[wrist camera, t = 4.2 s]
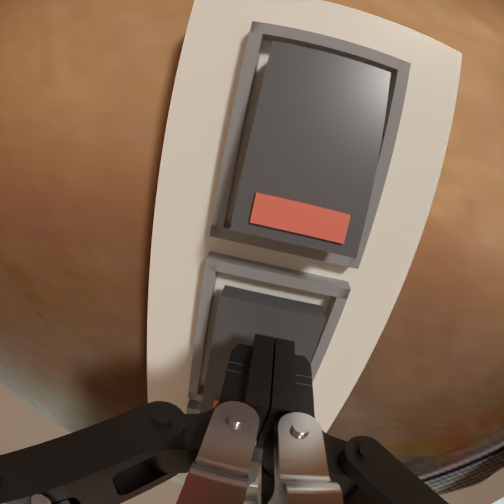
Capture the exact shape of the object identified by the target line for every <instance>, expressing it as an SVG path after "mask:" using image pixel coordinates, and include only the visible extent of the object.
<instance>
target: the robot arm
mask: <svg viewBox="0 0 504 504" xmlns="http://www.w3.org/2000/svg"><path fill="white" fill-rule="evenodd" d="M312 385H313V384H312V370H311V365H310V363H309V362H308V360H307V358H306V357H305V356H301V355H295V342H294V341H291V340H286V339H281V338H275V339H274V337H271V336H266V335H261V334H256V333H255V336H254V340H253V344H252V346H249V345H245V344H240V343H239V344H238V345H237V346H236V347H235V348H234V349H233V350H232V351H231V354H230V358H229V362H228V366H227V371H226V374H225V379H224V383H223V387H222V391H221V395H220V399H219V402H218V403H217V405H216V406H215V407H214V408H213V409H211V410H209V411H207V412H204V413H199V414H184V413H183V411H182V410H181V409H180V408H179V407H177V406H176V405H174V404H172V403H169V402H165V401H154V402H150V403H147V404H145V405H143V406H140V407H138V408H136V409H133V410H131V411H128V412H126V413H123V414H121V415H118V416H116V417H113V418H111V419H108V420H106V421H103V422H101V423H98V424H95V425H93V426H90V427H87V428H84V429H82V430H79V431H76V432H73V433H71V434H68V435H65V436H62V437H59V438H56V439H53V440H50V441H47V442H44V443H41V444H38V445H34V446H31V447H28V448H24V449H21V450H18V451H14V452H10V453H7V454H3V455H0V504H120V503H122V502H124V501H127V500H129V499H131V498H133V497H135V496H137V495H139V494H141V493H143V492H145V491H147V490H149V489H151V488H153V487H155V486H157V485H159V484H161V483H163V482H165V481H167V480H168V479H170V478H172V477H174V476H176V475H177V474H178V473H188V475H187V477H186V480H185V483H184V485H183V488H182V490H181V493H180V495H179V498H178V501H177V503H176V504H243V503H244V499H245V495H246V491H247V486H248V481H249V477H248V472H249V468H250V464H251V459H252V455H253V450H254V446H255V442H256V447H255V448H260V449H263V454H262V459H261V461H260V463H259V467H258V504H448V503H447V502H446V501H445V500H444V499H442V498H441V497H440V496H439V495H438V494H437V493H435V492H434V491H433V490H432V489H431V488H430V487H428V486H427V485H426V484H425V483H424V482H423V481H421V480H420V479H419V478H418V477H417V476H416V475H415V474H413V473H412V472H411V471H410V470H409V469H408V468H407V467H405V466H404V465H403V464H402V463H401V462H400V461H399V460H398V459H396V458H395V457H394V456H393V455H392V454H391V453H390V452H389V451H388V450H387V449H385V448H384V447H383V446H382V445H381V444H380V443H379V442H378V441H376V440H375V439H373V438H371V437H367V436H356V437H353V438H352V439H350V440H349V441H348V442H346V441H343V440H341V439H338V438H335V437H333V436H330V435H328V434H327V433H325V432H324V431H323V430H322V428H321V426H320V424H319V423H318V421H317V420H316V419H315V414H314V398H313V387H312Z"/></svg>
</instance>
